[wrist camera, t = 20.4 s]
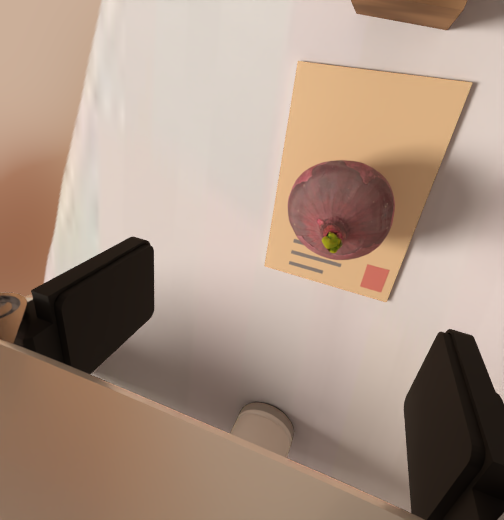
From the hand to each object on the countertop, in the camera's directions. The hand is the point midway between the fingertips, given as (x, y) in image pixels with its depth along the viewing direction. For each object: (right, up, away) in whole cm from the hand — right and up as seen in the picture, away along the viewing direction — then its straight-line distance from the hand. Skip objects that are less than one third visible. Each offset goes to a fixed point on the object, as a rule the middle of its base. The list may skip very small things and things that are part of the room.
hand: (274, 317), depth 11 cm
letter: (+6, +7, +13) cm, 16 cm away
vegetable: (+6, +7, +13) cm, 15 cm away
